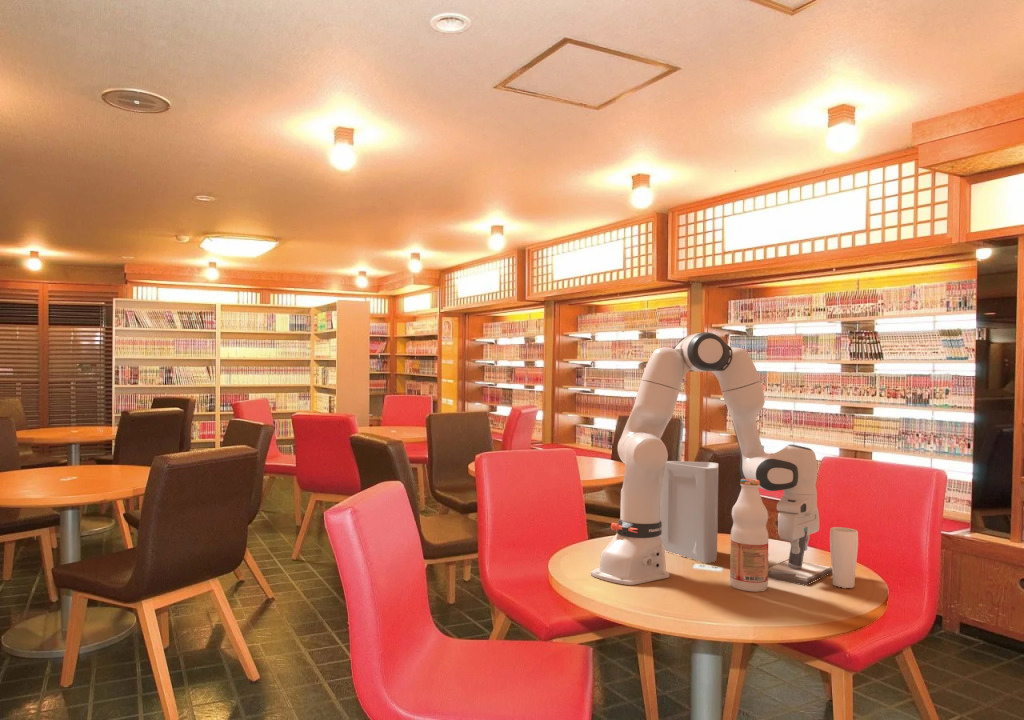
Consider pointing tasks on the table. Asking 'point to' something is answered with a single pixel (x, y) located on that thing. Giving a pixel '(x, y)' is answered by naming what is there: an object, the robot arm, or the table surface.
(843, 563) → the drinking glass
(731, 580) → the fruit juice
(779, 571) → the dark grey notebook
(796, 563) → the marker
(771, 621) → the table surface
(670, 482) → the gray plastic bin
